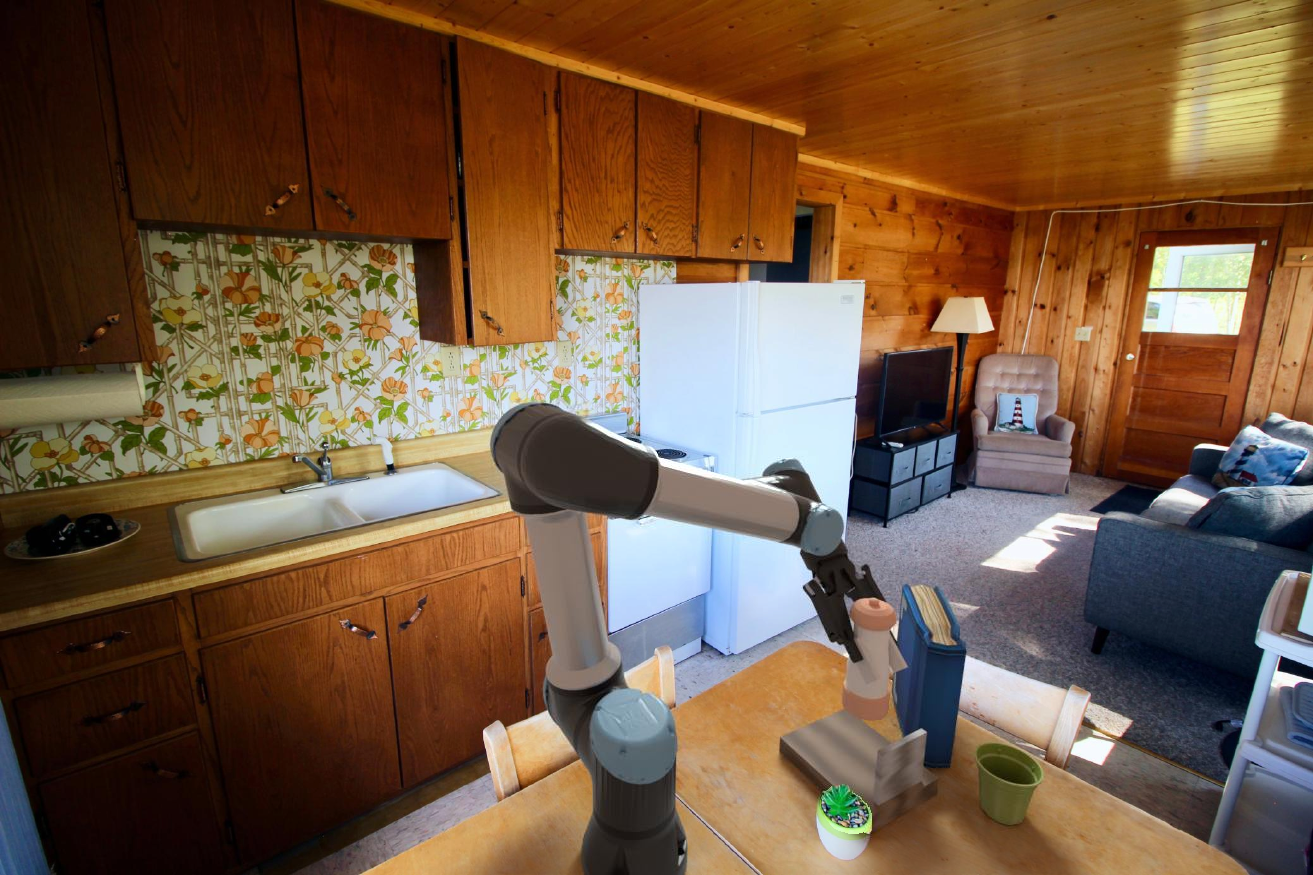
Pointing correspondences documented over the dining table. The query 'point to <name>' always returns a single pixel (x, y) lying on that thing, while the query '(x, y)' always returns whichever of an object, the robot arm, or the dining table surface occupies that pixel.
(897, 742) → the grey brown wooden stand
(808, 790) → the dining table surface
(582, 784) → the dining table surface
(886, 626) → the pepper shaker
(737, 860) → the dining table surface
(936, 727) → the book
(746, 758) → the dining table surface
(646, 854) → the robot arm
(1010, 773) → the plant pot
